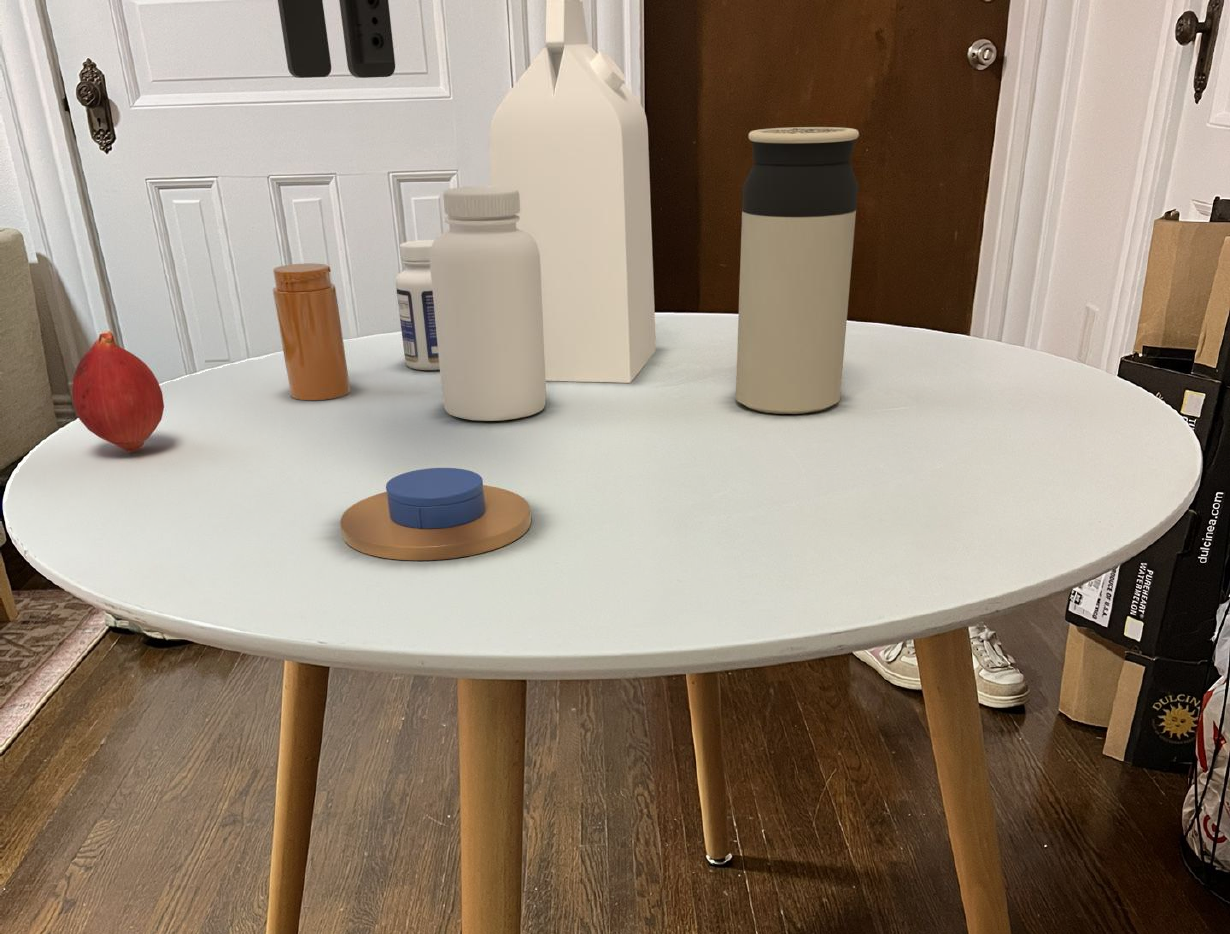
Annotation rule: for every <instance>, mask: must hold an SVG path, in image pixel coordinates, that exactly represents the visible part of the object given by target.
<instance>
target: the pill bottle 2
mask: <svg viewBox="0 0 1230 934" xmlns="http://www.w3.org/2000/svg"><path fill="white" fill-rule="evenodd" d="M442 195H443V207H444V213H445V215H447V216H446V217H445V218H444V223H445V224H448V226H449V229H448V230H447V231H444V232H443V233H442V234H440V235H438V236H437V237H436V238H435V239H434V240H435V241H434V242H433V244H432V246H431V250H430V268H431V279H432V290H433V301H434V311H435V322H436V333H437V344H438V354H439V365H440V370H439V374H440V382H441V383H440V386H441V397H442V401H443V406H444V409H445V411H446V413H447V414H448V415H450V416H453V417H456V418H460V419H463V420H470V421H478V422H479V421H480V422H482V421H483V422H492V421H493V422H495V421H496V422H497V421H508V420H516V419H522V418H526V417H530V416H533V415H536V414H537V413H540V412H541V411H543V410H544V408H545V406H546V401H547V381H546V379H545V357H544V335H543V313H542V291H541V268H540V253H539V250H538V246H537V244H536V242H535V240H534V239H533V238H532V237H531V236H530V235H529V234H527V233H526V232H524V231H521V230H519V229H517V228H516V222H518V221H519V220H520V217H519V216H518V215H515V214H518V213H519V212H520V196H519V192H518V190H517V189H515V188H509V187H493V186H491V185H490V186H488V185H487V186H484V185H483V186H481V185H479V186H463V187H460V186H459V187H452V188H448V189H445V190H444V192H443V193H442Z"/></svg>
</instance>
